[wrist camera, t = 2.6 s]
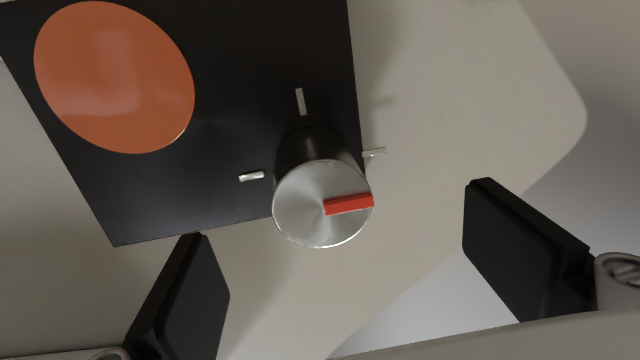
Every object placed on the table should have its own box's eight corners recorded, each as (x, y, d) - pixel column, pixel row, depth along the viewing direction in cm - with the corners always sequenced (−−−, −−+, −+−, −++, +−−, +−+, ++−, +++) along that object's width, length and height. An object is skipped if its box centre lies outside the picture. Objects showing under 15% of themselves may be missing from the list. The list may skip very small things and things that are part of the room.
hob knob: (283, 203, 18) (283, 261, 14) (266, 134, 16) (258, 174, 12) (354, 189, 18) (378, 242, 14) (345, 119, 16) (370, 152, 12)
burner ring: (84, 163, 16) (81, 165, 16) (2, 16, 13) (-2, 16, 13) (213, 139, 16) (213, 140, 16) (163, -12, 13) (161, -13, 13)
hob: (140, 240, 21) (121, 266, 19) (18, 12, 15) (-33, 7, 13) (378, 193, 22) (390, 212, 19) (357, -49, 15) (370, -65, 13)
